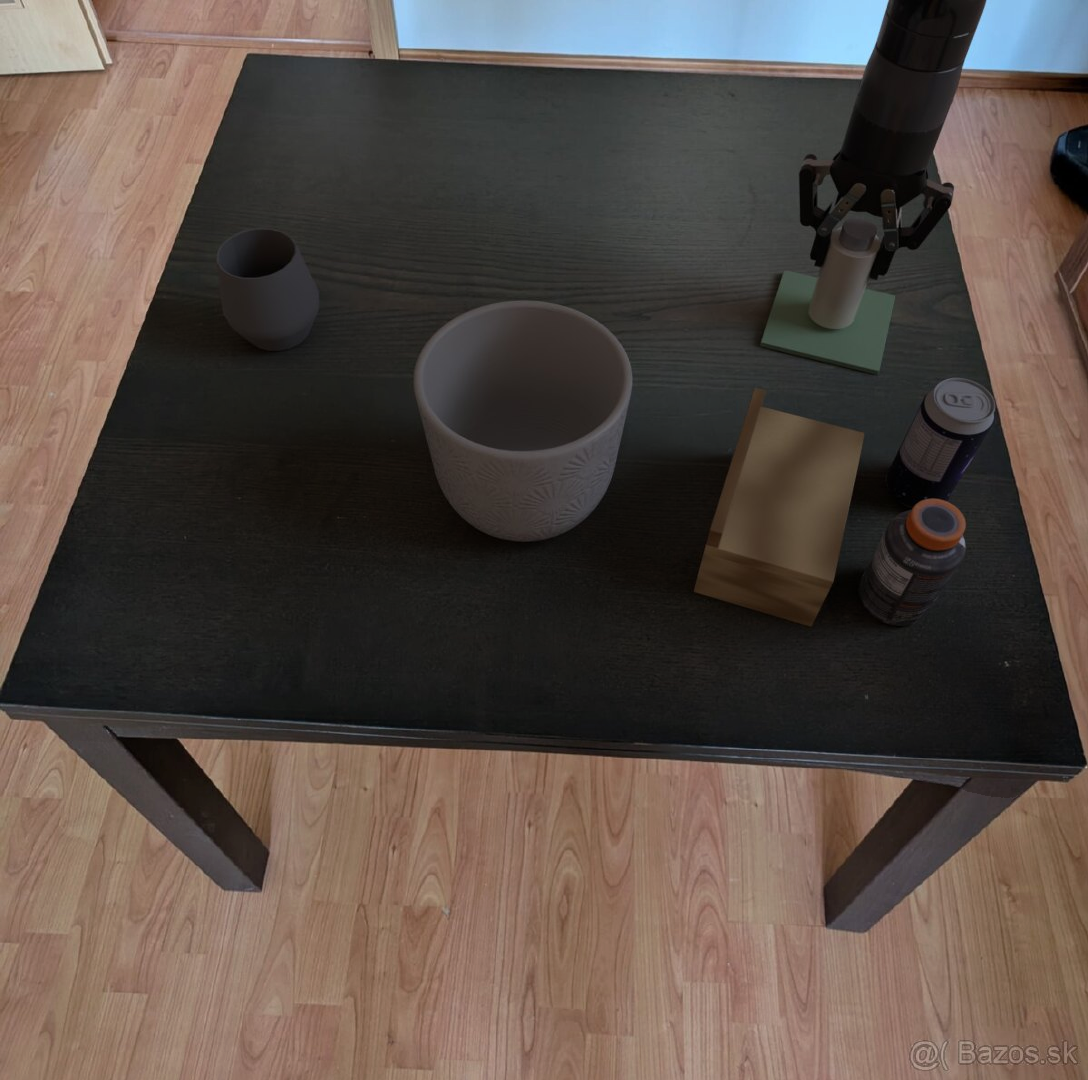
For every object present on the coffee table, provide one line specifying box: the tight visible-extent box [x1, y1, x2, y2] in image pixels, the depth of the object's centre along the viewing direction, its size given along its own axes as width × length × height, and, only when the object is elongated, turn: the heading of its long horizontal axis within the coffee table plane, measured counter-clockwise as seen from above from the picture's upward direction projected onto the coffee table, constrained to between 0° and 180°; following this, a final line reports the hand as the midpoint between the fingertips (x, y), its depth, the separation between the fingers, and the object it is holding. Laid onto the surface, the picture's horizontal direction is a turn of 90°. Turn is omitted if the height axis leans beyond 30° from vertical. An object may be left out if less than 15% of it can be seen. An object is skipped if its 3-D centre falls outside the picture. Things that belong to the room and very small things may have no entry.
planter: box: [413, 299, 633, 542], centre depth 79 cm, size 17×17×15 cm
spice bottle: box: [808, 216, 881, 329], centre depth 93 cm, size 5×5×10 cm
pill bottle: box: [858, 499, 967, 627], centre depth 74 cm, size 6×6×11 cm
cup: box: [215, 227, 320, 352], centre depth 92 cm, size 10×9×10 cm
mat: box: [759, 270, 896, 376], centre depth 98 cm, size 12×12×1 cm
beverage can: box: [885, 377, 996, 509], centre depth 80 cm, size 6×6×12 cm
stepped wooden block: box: [693, 387, 866, 628], centre depth 79 cm, size 10×16×9 cm, turn 160°
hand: (846, 267), depth 92 cm, fingers closed on spice bottle, 4 cm apart
